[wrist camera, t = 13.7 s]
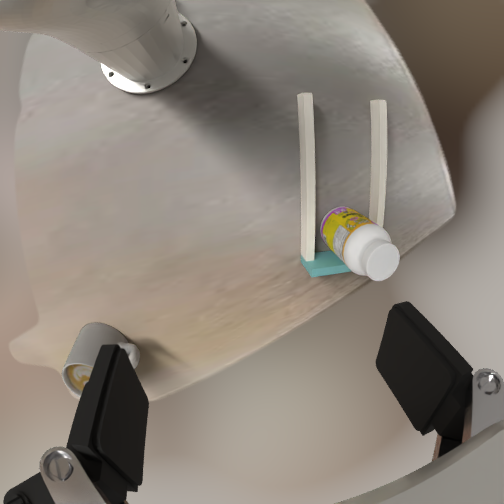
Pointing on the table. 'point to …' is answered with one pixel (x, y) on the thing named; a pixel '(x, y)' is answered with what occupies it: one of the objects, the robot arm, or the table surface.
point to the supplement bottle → (360, 243)
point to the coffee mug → (92, 354)
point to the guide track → (319, 260)
